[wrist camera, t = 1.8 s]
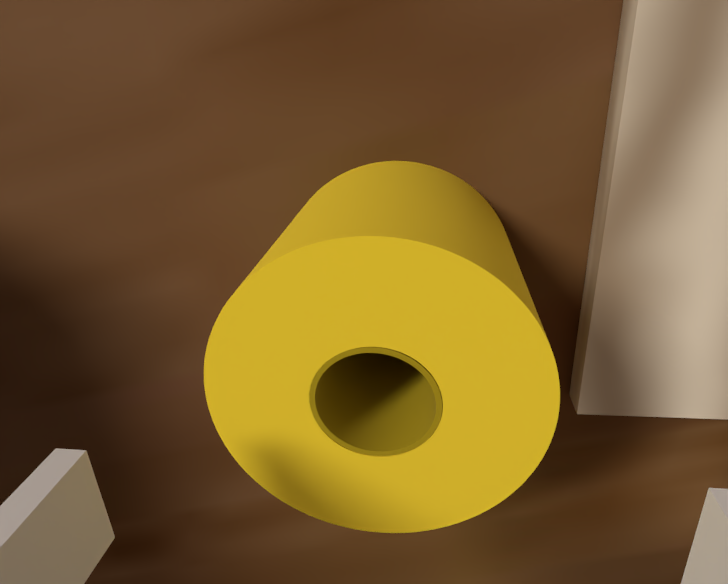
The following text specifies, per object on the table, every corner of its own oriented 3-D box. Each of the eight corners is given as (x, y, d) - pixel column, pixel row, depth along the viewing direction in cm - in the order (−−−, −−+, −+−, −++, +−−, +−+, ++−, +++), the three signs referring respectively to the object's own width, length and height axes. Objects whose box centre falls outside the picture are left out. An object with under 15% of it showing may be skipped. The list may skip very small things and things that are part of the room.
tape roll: (553, 207, 21) (632, 312, 13) (460, 397, 26) (474, 569, 17) (318, 127, 21) (241, 180, 13) (264, 332, 26) (180, 474, 17)
